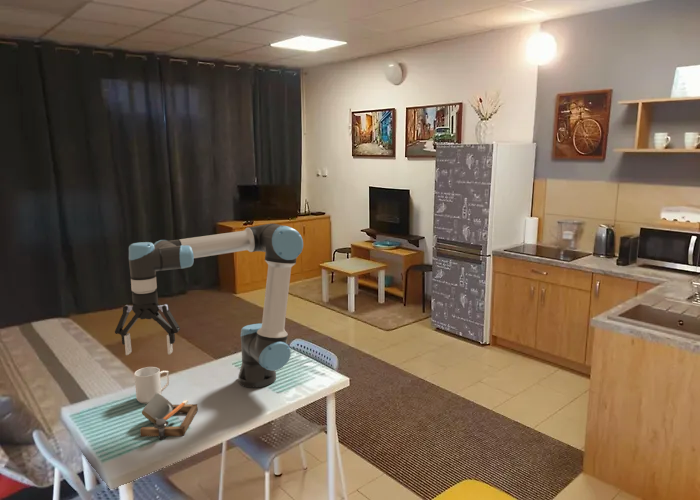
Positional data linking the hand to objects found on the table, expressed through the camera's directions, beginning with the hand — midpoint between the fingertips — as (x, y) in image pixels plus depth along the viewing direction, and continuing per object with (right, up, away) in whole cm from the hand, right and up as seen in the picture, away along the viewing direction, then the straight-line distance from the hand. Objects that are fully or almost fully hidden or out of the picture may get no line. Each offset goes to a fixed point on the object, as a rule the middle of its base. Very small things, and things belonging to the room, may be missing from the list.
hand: (149, 353), depth 160 cm
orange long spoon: (+7, -21, +4) cm, 22 cm away
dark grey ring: (+5, -27, -2) cm, 28 cm away
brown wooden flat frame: (+4, -26, +8) cm, 27 cm away
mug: (-9, -23, +26) cm, 36 cm away
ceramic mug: (+1, -26, +8) cm, 27 cm away
